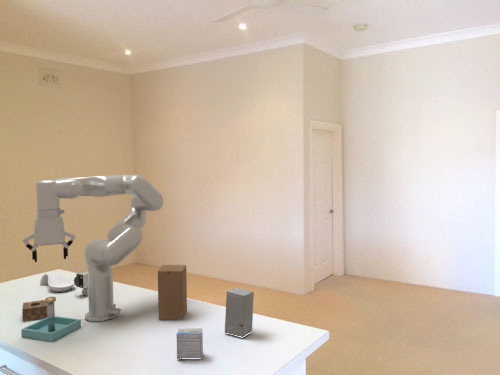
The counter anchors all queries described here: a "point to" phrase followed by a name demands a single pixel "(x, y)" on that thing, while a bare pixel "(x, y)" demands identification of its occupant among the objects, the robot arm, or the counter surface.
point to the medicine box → (189, 343)
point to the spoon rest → (57, 282)
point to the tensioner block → (34, 310)
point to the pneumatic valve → (82, 282)
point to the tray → (61, 329)
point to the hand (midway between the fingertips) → (50, 260)
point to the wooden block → (172, 292)
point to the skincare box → (239, 312)
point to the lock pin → (50, 313)
